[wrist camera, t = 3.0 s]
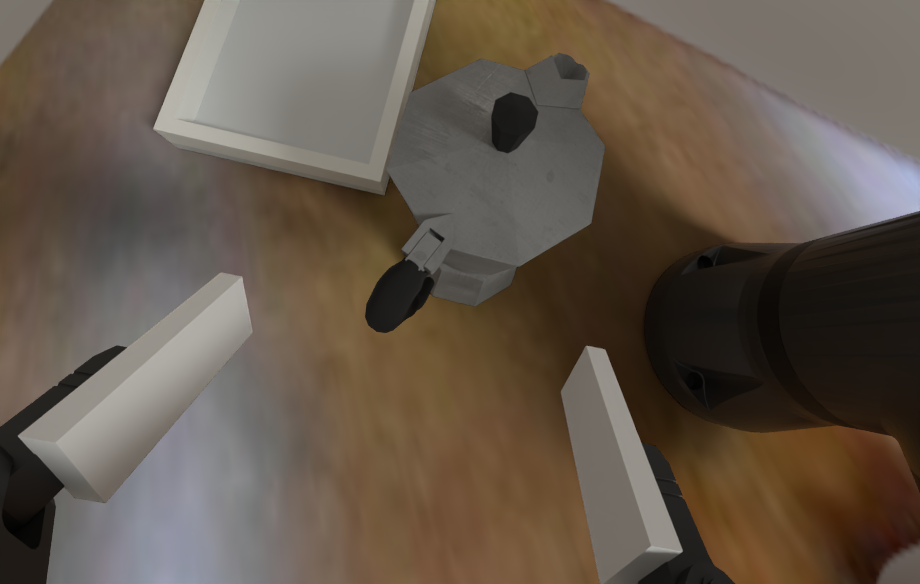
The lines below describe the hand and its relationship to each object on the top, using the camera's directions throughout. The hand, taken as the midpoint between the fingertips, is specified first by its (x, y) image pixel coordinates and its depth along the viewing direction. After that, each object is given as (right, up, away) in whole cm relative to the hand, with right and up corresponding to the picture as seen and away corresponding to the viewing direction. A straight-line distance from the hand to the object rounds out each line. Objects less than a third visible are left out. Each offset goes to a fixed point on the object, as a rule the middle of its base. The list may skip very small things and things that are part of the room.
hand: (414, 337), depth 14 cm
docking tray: (-10, +24, +18) cm, 32 cm away
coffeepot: (+2, +4, +16) cm, 16 cm away
